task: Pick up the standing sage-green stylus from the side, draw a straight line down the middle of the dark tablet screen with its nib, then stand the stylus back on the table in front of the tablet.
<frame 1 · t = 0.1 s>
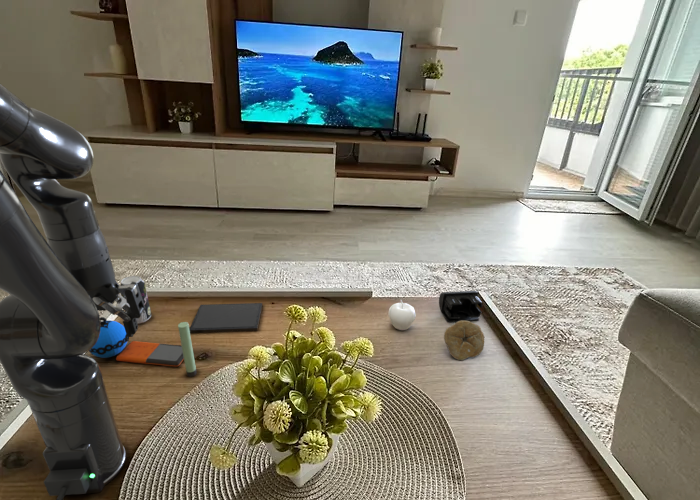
hand: (107, 334, 71), 17 cm above the table, tool pointing down, fingers open, 8 cm apart
stylus: (191, 373, 87), on the table
end cap: (458, 315, 111), on the table
ornament: (111, 354, 92), on the table
apple: (400, 326, 106), on the table
beverage can: (140, 320, 105), on the table
fossil: (462, 351, 97), on the table
tablet: (228, 318, 106), on the table
phone: (155, 356, 92), on the table
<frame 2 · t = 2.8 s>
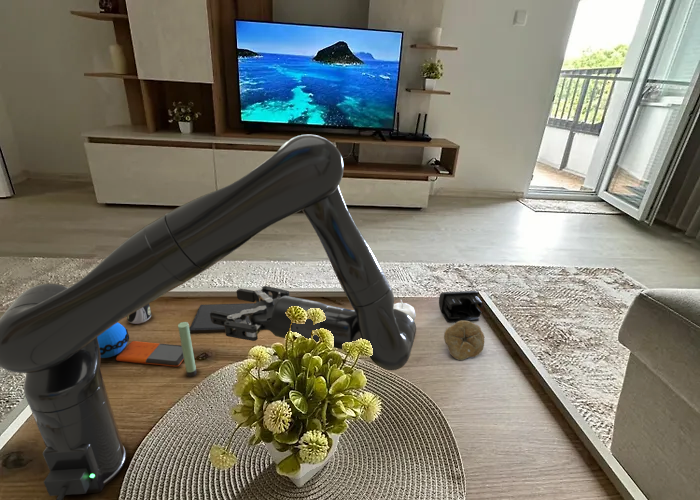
hand: (225, 304, 76), 20 cm above the table, tool horizontal, fingers open, 8 cm apart
ornament: (111, 354, 92), on the table, touching phone
phone: (155, 356, 92), on the table, touching ornament
everything else where it was.
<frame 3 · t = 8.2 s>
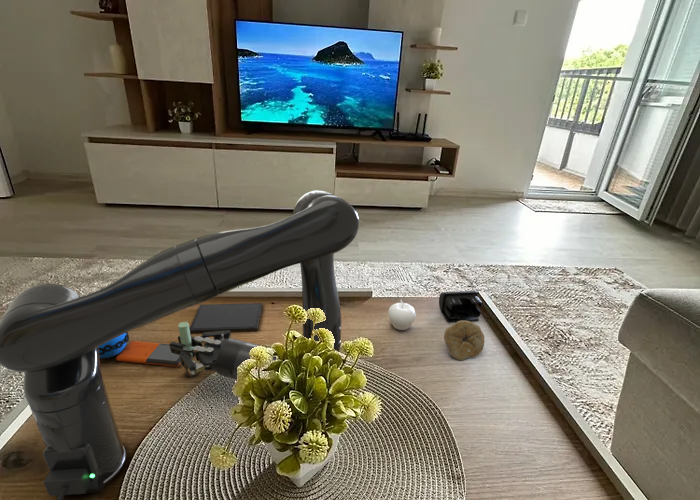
hand: (175, 342, 85), 8 cm above the table, tool horizontal, fingers closed on stylus, 2 cm apart
stylus: (191, 373, 87), on the table, touching gripper
ornament: (111, 354, 92), on the table
phone: (155, 356, 92), on the table
everything else where it was.
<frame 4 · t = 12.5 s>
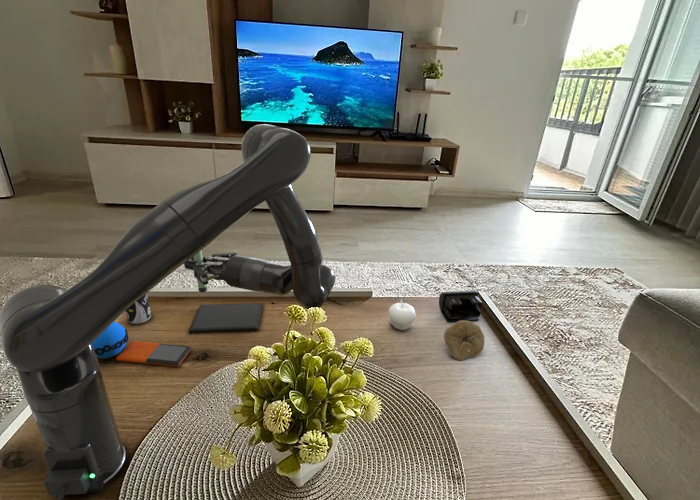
hand: (188, 261, 97), 18 cm above the table, tool horizontal, fingers closed on stylus
stylus: (203, 290, 99), point 10 cm above the table, touching gripper
everything else where it was.
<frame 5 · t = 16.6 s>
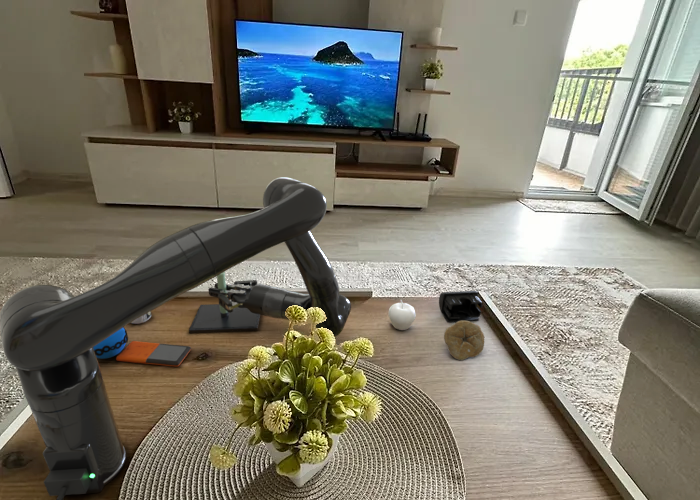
hand: (212, 288, 104), 9 cm above the table, tool horizontal, fingers closed on stylus, 2 cm apart
stylus: (224, 315, 106), point 1 cm above the table, touching gripper
everything else where it was.
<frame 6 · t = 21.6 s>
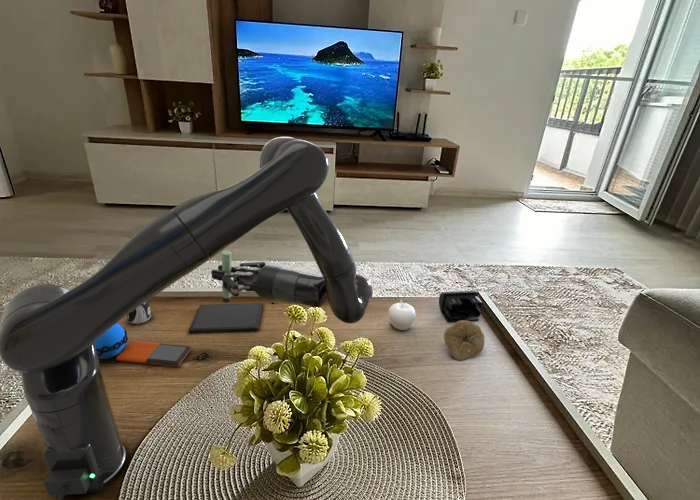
hand: (216, 271, 93), 18 cm above the table, tool horizontal, fingers closed on stylus
stylus: (226, 300, 95), point 10 cm above the table, tilted 7°, touching gripper
everything else where it was.
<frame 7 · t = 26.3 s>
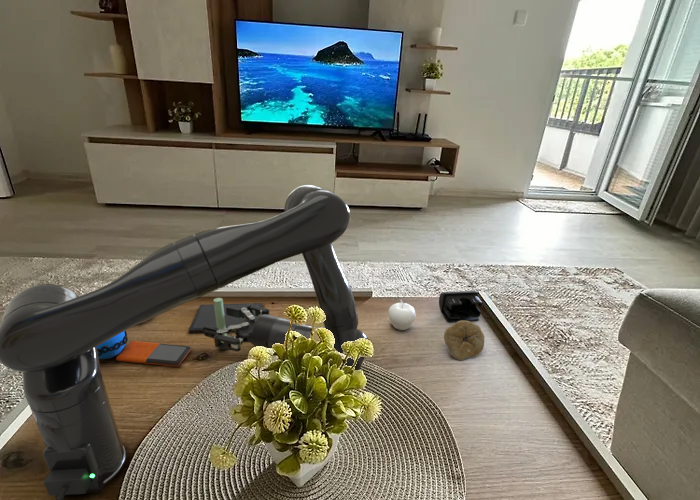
hand: (216, 319, 92), 8 cm above the table, tool horizontal, fingers open, 8 cm apart
stylus: (223, 348, 95), on the table
everything else where it was.
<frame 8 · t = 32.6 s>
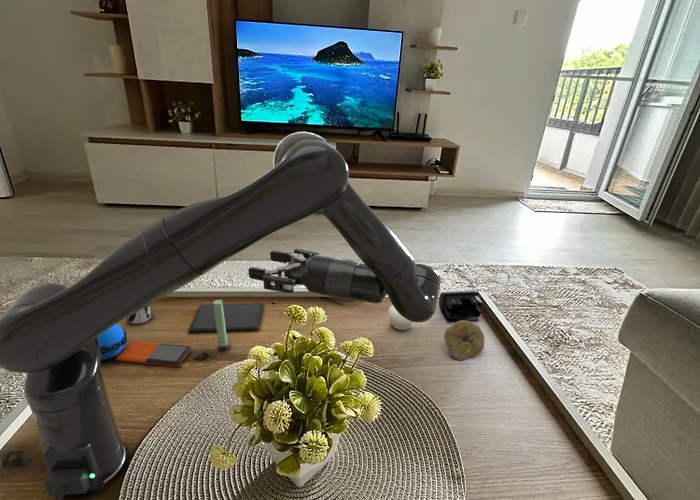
hand: (260, 263, 81), 25 cm above the table, tool horizontal, fingers open, 8 cm apart
nothing on the table moved.
at the end: stylus 0.9 cm from the target spot on the table beside the tablet, on the table; stylus tilted 0°; the gripper is holding nothing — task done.
